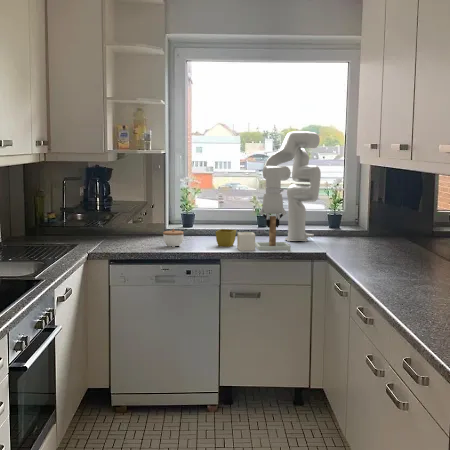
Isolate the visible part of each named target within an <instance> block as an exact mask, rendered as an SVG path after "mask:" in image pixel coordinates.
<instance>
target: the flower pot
mask: <svg viewBox="0 0 450 450" xmlns="http://www.w3.org/2000/svg"><path fill="white" fill-rule="evenodd" d="M236 234H237V229H223V228H221V229H219V230H216V231H215V238H216V244H217V245H218V247H227V248H230V247H232V246H234V243H235V241H236V238H237V235H236Z"/></svg>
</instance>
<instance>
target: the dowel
mask: <svg viewBox="0 0 450 450" xmlns="http://www.w3.org/2000/svg"><path fill="white" fill-rule="evenodd" d="M276 218H277V216H276V215H269V220H270V227H269V229H268V234H269V235H268V242H269V246H276V242H277V227H276Z"/></svg>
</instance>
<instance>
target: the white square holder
mask: <svg viewBox="0 0 450 450" xmlns="http://www.w3.org/2000/svg"><path fill="white" fill-rule="evenodd" d="M236 234H237V235H236V239H237V246H236V248H237V250H238V251H241V252H242V251H244V252H245V251H256V247H255V242H256V234H255V232H253V231H251V232H250V231H248V232H247V231H246V232H245V231H244V232H242V231H241V232H240V231H239V232H238V231H236Z"/></svg>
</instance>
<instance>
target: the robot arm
mask: <svg viewBox="0 0 450 450" xmlns="http://www.w3.org/2000/svg"><path fill="white" fill-rule="evenodd" d="M320 142H321V141H320V135H319V134H318V133H317V132H313V131H289V132H288V133H287V134H286V136H285V138H284V140H283V142H282V144H281V146H280V149H279V150H278V151H276V152H275V153H273V154H272V155H271V156H269V157H268V158H267V160H266V161H265V164H264V165H263V168H262V177H263V179H265V193H263V197H262V198H263V199H262V207H261V209H260V211H259V213H258V214H259V215H261V216H262V217H263V218H264V219H265V226H266V227H267V228H269V227H270V220H269V216H270V214H272V215H273V214H274V215H275V216H276V228H279V226H280V219H282V217H284V216H285V215H286V214H287V215H288V217H287V218H288V219H287V220H288V221H287V237H285V239H284V241H286V240H287V241H286V242H290V241H305V242H308V241H307V240H309V239H308V238H314V235H315V234H314V233H307V232H306V207H305V205H304V203H303V202H305V203H306V202H307V203H309V202H310V203H314V202H316V201H318V199H319V193H320V185H321V175H322V174H321V169H320V167H319V165H313V164H310V163H309V162H310V156H309V154H308V152H307V151H306V150H305V149H316V148H318V146H319V145H320ZM292 160H293V164H292V170H291V169H290V168H289V167H288V166H287V165H282V164H285V163H288V162H291V161H292ZM309 164H310V165H309ZM291 171H292V172H291ZM290 178H292V181H294V182H297V183H293V184H290V185H289V186H288V187H287V189H286V195H287V203H288V204H287V205H288V213H287V212H286V210H285V208H284V202H283V201H284V200H283V194H282V192H284V188H282V186H281V185H282V184H281V182H282V181H287V180H289V179H290ZM304 183H308V184H304Z"/></svg>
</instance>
